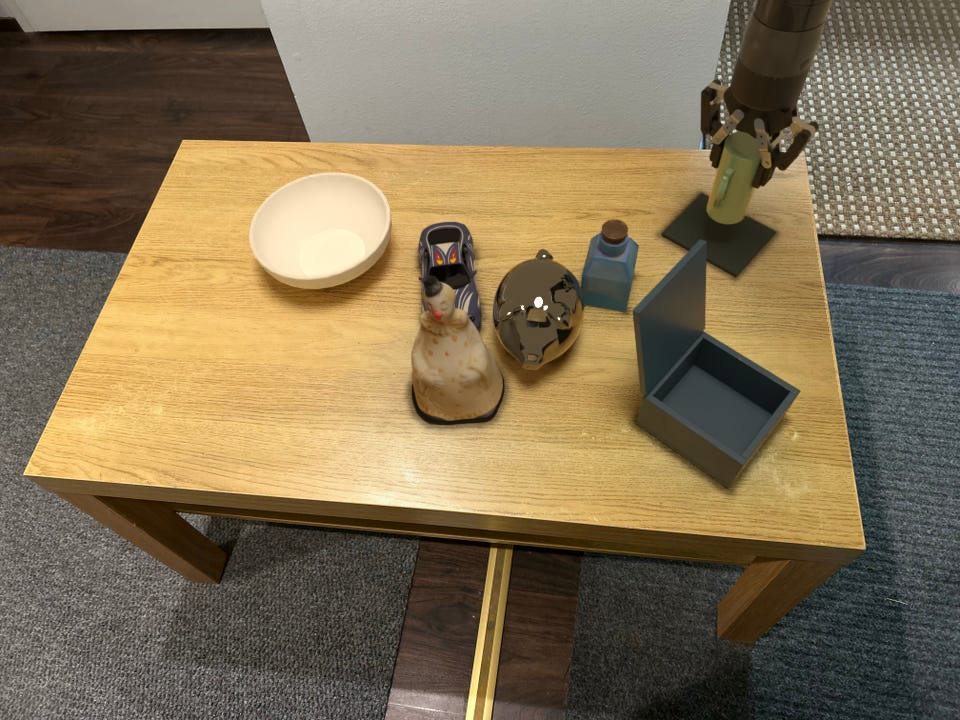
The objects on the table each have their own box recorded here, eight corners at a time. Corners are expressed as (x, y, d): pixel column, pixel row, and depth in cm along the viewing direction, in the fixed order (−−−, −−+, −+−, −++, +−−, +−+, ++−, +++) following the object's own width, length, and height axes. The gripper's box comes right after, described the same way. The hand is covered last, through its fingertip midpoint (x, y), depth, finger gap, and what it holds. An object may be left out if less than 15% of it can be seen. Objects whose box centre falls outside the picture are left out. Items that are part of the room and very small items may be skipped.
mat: (775, 233, 96) (776, 231, 95) (736, 277, 92) (736, 275, 92) (700, 194, 100) (701, 192, 100) (661, 235, 97) (661, 232, 97)
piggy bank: (486, 384, 86) (479, 333, 77) (504, 289, 94) (499, 232, 84) (575, 393, 85) (580, 343, 75) (586, 296, 92) (591, 239, 83)
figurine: (413, 429, 84) (380, 339, 67) (411, 357, 89) (380, 257, 72) (508, 419, 84) (500, 326, 67) (500, 347, 89) (491, 245, 72)
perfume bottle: (633, 275, 94) (644, 214, 83) (626, 312, 91) (636, 252, 80) (588, 268, 95) (594, 206, 85) (579, 304, 92) (584, 244, 82)
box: (782, 418, 81) (801, 390, 75) (728, 489, 77) (743, 465, 71) (690, 360, 86) (701, 329, 80) (635, 423, 82) (642, 396, 76)
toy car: (425, 344, 90) (419, 322, 86) (419, 239, 100) (413, 215, 96) (484, 337, 90) (481, 315, 86) (472, 232, 100) (469, 208, 96)
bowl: (256, 315, 95) (237, 283, 89) (276, 211, 105) (260, 176, 99) (396, 307, 94) (386, 274, 88) (402, 202, 104) (394, 167, 98)
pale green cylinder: (754, 207, 92) (777, 142, 83) (726, 237, 90) (747, 173, 80) (720, 190, 94) (739, 124, 85) (692, 219, 92) (708, 154, 82)
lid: (707, 241, 70) (700, 238, 70) (638, 313, 66) (632, 310, 66) (705, 328, 80) (699, 326, 80) (646, 395, 76) (640, 392, 76)
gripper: (859, 59, 71) (805, 182, 85) (735, 12, 77) (705, 134, 91) (822, 97, 68) (773, 217, 83) (697, 45, 74) (672, 166, 88)
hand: (737, 173), depth 87 cm, fingers closed on pale green cylinder, 5 cm apart
